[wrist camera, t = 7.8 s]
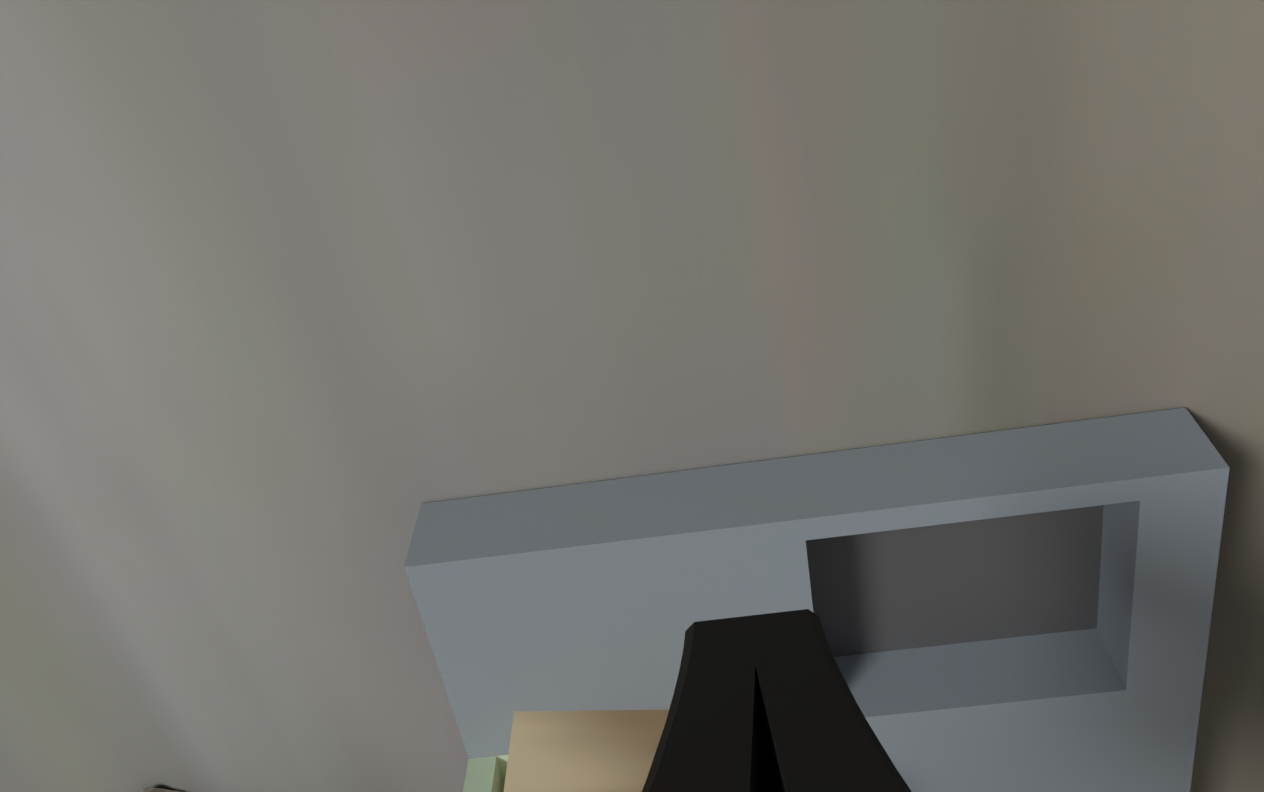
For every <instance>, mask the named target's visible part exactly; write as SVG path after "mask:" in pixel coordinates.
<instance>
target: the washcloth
mask: <svg viewBox="0 0 1264 792" xmlns="http://www.w3.org/2000/svg"><path fill="white" fill-rule="evenodd" d="M140 792H183V791H175V790H168V789H163V788H146V789H144V790H142V791H140Z"/></svg>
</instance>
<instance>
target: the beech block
mask: <svg viewBox="0 0 1264 792" xmlns="http://www.w3.org/2000/svg"><path fill="white" fill-rule="evenodd" d="M668 712H669V710H595V711H521V712H514V715H513V723H512V731H511V738H510V746H509V754H508V761H507V769H506V777H505V784H504V792H642V790H643V787H644V785H645V782H646V779H647V776H648V773H649V770H650V767H651V764H652V762H653V759H654V756H655V753H656V750H657V747H658V744H659V741H660V738H661V735H662V732H663V729H664V726H665V723H666V719H667V716H668Z"/></svg>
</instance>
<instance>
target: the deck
mask: <svg viewBox="0 0 1264 792" xmlns="http://www.w3.org/2000/svg"><path fill="white" fill-rule="evenodd" d="M1229 468H1230V467H1229V466H1228V465H1227V463H1226V462H1225V461H1224V459H1223V458H1222V457H1221V455H1220V454H1219V452H1218V451H1217V450H1216V448H1215V447H1214V446H1213V444H1212V443H1211V442H1210V440H1209V439H1208V437H1207V436H1206V435H1205V433H1204V432H1203V431H1202V429H1201V428H1200V427H1199V425H1198V424H1197V422H1196V421H1195V420H1194V418H1193V417H1192V416H1191V414H1190V413H1189V412H1188V410H1187V409H1186V407H1185V408H1177V409H1169V410H1161V411H1153V412H1145V413H1137V414H1129V415H1122V416H1114V417H1106V418H1098V419H1090V420H1082V421H1074V422H1066V423H1058V424H1050V425H1042V426H1034V427H1026V428H1018V429H1010V430H1002V431H994V432H986V433H978V434H970V435H963V436H955V437H947V438H939V439H931V440H923V441H915V442H907V443H899V444H891V445H883V446H875V447H867V448H859V449H851V450H843V451H835V452H827V453H819V454H812V455H804V456H796V457H788V458H780V459H772V460H764V461H756V462H748V463H740V464H732V465H724V466H716V467H708V468H700V469H692V470H684V471H676V472H668V473H660V474H653V475H645V476H637V477H629V478H621V479H613V480H605V481H597V482H589V483H581V484H573V485H565V486H557V487H549V488H541V489H533V490H525V491H517V492H509V493H501V494H494V495H486V496H478V497H470V498H462V499H454V500H446V501H438V502H430V503H422V504H421V507H420V511H419V514H418V518H417V522H416V525H415V529H414V533H413V536H412V540H411V543H410V547H409V551H408V554H407V558H406V562H405V565H404V569H405V572H406V575H407V578H408V581H409V584H410V587H411V590H412V593H413V596H414V599H415V601H416V604H417V607H418V610H419V613H420V616H421V619H422V622H423V625H424V628H425V631H426V634H427V637H428V640H429V643H430V646H431V649H432V652H433V655H434V658H435V661H436V664H437V667H438V670H439V673H440V676H441V679H442V682H443V685H444V688H445V690H446V693H447V696H448V699H449V702H450V705H451V708H452V711H453V714H454V717H455V720H456V723H457V726H458V729H459V732H460V735H461V738H462V741H463V744H464V747H465V750H466V753H467V756H468V765H467V771H466V777H465V783H464V789H463V792H504V784H505V777H506V769H507V761H508V754H509V746H510V738H511V731H512V723H513V715H514V712H521V711H595V710H669V709H670V705H671V701H672V698H673V694H674V690H675V686H676V682H677V678H678V674H679V669H680V664H681V659H682V654H683V648H684V639H685V631H686V630H687V629H688V628H689V627H690V626H691V625H692V624H693V623H694V622H698V621H707V620H716V619H724V618H733V617H742V616H751V615H760V614H768V613H777V612H786V611H795V610H804V609H809V610H810V611H812V612H813V613H815V614H816V615H818V616H819V617H820V621H821V625H822V628H823V631H824V634H825V636H826V639H827V642H828V644H829V647H830V649H831V651H832V654H833V656H834V658H835V661H836V663H837V665H838V667H839V669H840V671H841V673H842V675H843V677H844V679H845V681H846V683H847V685H848V687H849V689H850V691H851V693H852V695H853V696H854V698H855V700H856V702H857V704H858V706H859V708H860V709H861V711H862V713H863V715H864V716H865V718H866V720H867V722H868V723H869V725H870V727H871V728H872V730H873V732H874V733H875V735H876V736H877V738H878V740H879V741H880V743H881V745H882V746H883V748H884V749H885V751H886V753H887V754H888V756H889V758H890V759H891V761H892V762H893V764H894V766H895V767H896V769H897V770H898V772H899V773H900V775H901V776H902V778H903V779H904V781H905V782H906V784H907V785H908V787H909V788H910V790H911V791H912V792H1190V788H1191V780H1192V772H1193V764H1194V755H1195V747H1196V739H1197V731H1198V723H1199V714H1200V706H1201V698H1202V690H1203V682H1204V673H1205V665H1206V657H1207V649H1208V641H1209V632H1210V624H1211V616H1212V608H1213V600H1214V591H1215V583H1216V575H1217V567H1218V559H1219V550H1220V542H1221V534H1222V526H1223V518H1224V509H1225V501H1226V493H1227V485H1228V477H1229Z"/></svg>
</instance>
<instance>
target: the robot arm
mask: <svg viewBox="0 0 1264 792" xmlns="http://www.w3.org/2000/svg"><path fill="white" fill-rule="evenodd" d="M642 792H912V791H911V790H910V788H909V787H908V785H907V784H906V782H905V781H904V779H903V778H902V776H901V775H900V773H899V772H898V770H897V769H896V767H895V766H894V764H893V762H892V761H891V759H890V758H889V756H888V754H887V753H886V751H885V749H884V748H883V746H882V745H881V743H880V741H879V740H878V738H877V736H876V735H875V733H874V732H873V730H872V728H871V727H870V725H869V723H868V722H867V720H866V718H865V716H864V715H863V713H862V711H861V709H860V708H859V706H858V704H857V702H856V700H855V698H854V696H853V695H852V693H851V691H850V689H849V687H848V685H847V683H846V681H845V679H844V677H843V675H842V673H841V671H840V669H839V667H838V665H837V663H836V661H835V658H834V656H833V654H832V651H831V649H830V647H829V644H828V642H827V639H826V636H825V634H824V631H823V628H822V625H821V621H820V617H819V616H818V615H816V614H815V613H813V612H812V611H810V610H809V609H804V610H795V611H786V612H777V613H768V614H760V615H751V616H742V617H733V618H724V619H716V620H707V621H698V622H694V623H693V624H692V625H691V626H690V627H689V628H688V629H687V630H686V631H685V639H684V648H683V654H682V659H681V664H680V669H679V674H678V678H677V682H676V686H675V690H674V694H673V698H672V701H671V705H670V709H669V712H668V716H667V719H666V723H665V726H664V729H663V732H662V735H661V738H660V741H659V744H658V747H657V750H656V753H655V756H654V759H653V762H652V764H651V767H650V770H649V773H648V776H647V779H646V782H645V785H644V787H643V790H642Z"/></svg>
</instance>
